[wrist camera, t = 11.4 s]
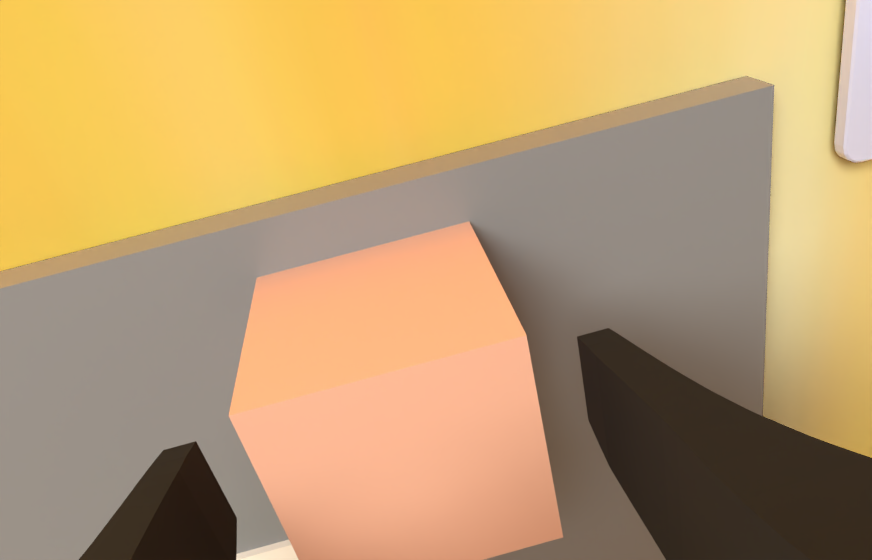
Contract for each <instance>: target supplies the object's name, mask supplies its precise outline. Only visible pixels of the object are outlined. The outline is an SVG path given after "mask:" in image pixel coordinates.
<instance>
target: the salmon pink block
mask: <svg viewBox="0 0 872 560" xmlns="http://www.w3.org/2000/svg"><path fill="white" fill-rule="evenodd" d="M229 418H230V420H231V422H232V424H233V426H234V428H235V430H236V432H237V434H238V436H239V438H240V440H241V442H242V444H243V446H244V448H245V450H246V453H247V455H248V457H249V459H250V461H251V463H252V465H253V467H254V469H255V471H256V473H257V475H258V477H259V479H260V481H261V483H262V485H263V487H264V489H265V491H266V494H267V496H268V498H269V500H270V502H271V504H272V506H273V508H274V510H275V512H276V514H277V516H278V518H279V520H280V522H281V524H282V526H283V528H284V530H285V532H286V534H287V537H288V539H289V541H290V543H291V545H292V547H293V549H294V551H295V553H296V555H297V557H298V559H299V560H484V559H488V558H491V557H495V556H498V555H502V554H505V553H509V552H513V551H516V550H520V549H523V548H527V547H530V546H534V545H538V544H541V543H545V542H548V541H552V540H555V539H559V538H563V533H562V527H561V522H560V516H559V511H558V505H557V500H556V494H555V489H554V484H553V478H552V473H551V467H550V462H549V456H548V451H547V445H546V440H545V434H544V429H543V423H542V418H541V412H540V407H539V401H538V396H537V390H536V385H535V379H534V374H533V368H532V363H531V357H530V352H529V346H528V341H527V335H526V333H525V331H524V329H523V327H522V325H521V323H520V321H519V319H518V317H517V315H516V313H515V311H514V309H513V307H512V305H511V303H510V301H509V299H508V297H507V295H506V293H505V291H504V289H503V287H502V285H501V283H500V281H499V280H498V278H497V276H496V274H495V272H494V270H493V268H492V266H491V264H490V262H489V260H488V258H487V256H486V254H485V252H484V250H483V248H482V246H481V244H480V242H479V240H478V238H477V236H476V234H475V232H474V230H473V228H472V226H471V224H470V222H465V223H461V224H457V225H453V226H450V227H446V228H442V229H438V230H435V231H431V232H427V233H423V234H419V235H416V236H412V237H408V238H404V239H401V240H397V241H393V242H389V243H386V244H382V245H378V246H374V247H370V248H367V249H363V250H359V251H355V252H352V253H348V254H344V255H340V256H337V257H333V258H329V259H325V260H321V261H318V262H314V263H310V264H306V265H303V266H299V267H295V268H291V269H287V270H284V271H280V272H276V273H272V274H269V275H265V276H261V277H257V279H256V283H255V288H254V293H253V298H252V303H251V308H250V313H249V318H248V323H247V328H246V333H245V338H244V342H243V347H242V352H241V357H240V362H239V367H238V372H237V377H236V382H235V387H234V392H233V397H232V402H231V406H230V411H229Z"/></svg>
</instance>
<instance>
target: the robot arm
mask: <svg viewBox="0 0 872 560" xmlns="http://www.w3.org/2000/svg"><path fill="white" fill-rule="evenodd" d="M834 145H835V151H836V153H837V154H838V155H839V156H840V157H842V158H845V159H847V160H849V161H852V162H854V163H856V162H864V161H868V160H872V0H846V8H845V20H844V32H843V44H842V56H841V68H840V80H839V92H838V104H837V116H836V128H835V140H834ZM577 341H578V348H579V356H580V363H581V370H582V378H583V385H584V392H585V400H586V407H587V414H588V420H589V423H590V425H591V427H592V430H593V432H594V434H595V436H596V439H597V441H598V443H599V445H600V447H601V450H602V452H603V454H604V456H605V458H606V460H607V463H608V465H609V467H610V468H611V470H612V472H613V474H614V475H615V477H616V479H617V480H618V482H619V484H620V485H621V487H622V489H623V490H624V492H625V493H626V495H627V497H628V498H629V500H630V502H631V503H632V505H633V507H634V508H635V510H636V512H637V513H638V515H639V516H640V518H641V520H642V521H643V523H644V525H645V526H646V528H647V530H648V531H649V533H650V534H651V536H652V538H653V539H654V541H655V543H656V544H657V546H658V547H659V549H660V551H661V552H662V554H663V556H664V557H665V559H666V560H872V458H870V457H867V456H864V455H861V454H858V453H855V452H852V451H850V450H847V449H844V448H841V447H838V446H835V445H832V444H829V443H827V442H824V441H821V440H819V439H816V438H813V437H811V436H808V435H806V434H803V433H801V432H798V431H796V430H794V429H791V428H789V427H786V426H784V425H782V424H779V423H777V422H775V421H772V420H770V419H767V418H765V417H763V416H761V415H759V414H757V413H754V412H752V411H750V410H748V409H746V408H744V407H742V406H740V405H738V404H736V403H734V402H732V401H730V400H728V399H726V398H724V397H722V396H720V395H718V394H716V393H715V392H713V391H711V390H709V389H707V388H705V387H704V386H702V385H700V384H698V383H697V382H695V381H693V380H692V379H690V378H688V377H686V376H685V375H683V374H681V373H680V372H678V371H676V370H674V369H673V368H671V367H670V366H668V365H666V364H665V363H663V362H661V361H660V360H658V359H657V358H655V357H653V356H652V355H650V354H649V353H647V352H646V351H644V350H642V349H641V348H639V347H638V346H636V345H635V344H633V343H632V342H630V341H629V340H627V339H625V338H624V337H622V336H621V335H619V334H618V333H616V332H614V331H613V330H611V329H609V328H607V329H603V330H599V331H596V332H592V333H588V334H585V335H581V336H577ZM236 554H237V517H236V515H235V513H234V512H233V510H232V508H231V506H230V504H229V502H228V500H227V498H226V497H225V495H224V493H223V491H222V489H221V487H220V485H219V483H218V482H217V480H216V478H215V476H214V474H213V472H212V470H211V468H210V466H209V465H208V463H207V461H206V459H205V457H204V455H203V453H202V451H201V450H200V448H199V446H198V444H197V442H196V441H195V442H191V443H187V444H184V445H180V446H176V447H173V448H169V449H166V450H163V451H162V452H161V454H160V455H159V456H158V457H157V458H156V460H155V461H154V462H153V463H152V465H151V466H150V467H149V469H148V470H147V471H146V472H145V474H144V475H143V476H142V478H141V479H140V480H139V482H138V483H137V484H136V486H135V487H134V488H133V490H132V491H131V492H130V494H129V495H128V496H127V498H126V499H125V500H124V502H123V503H122V504H121V506H120V507H119V508H118V510H117V511H116V512H115V514H114V515H113V516H112V518H111V519H110V520H109V521H108V523H107V524H106V525H105V527H104V528H103V529H102V531H101V532H100V533H99V535H98V536H97V537H96V539H95V540H94V541H93V542H92V544H91V545H90V546H89V548H88V549H87V550H86V551H85V552H84V554H83V555H82V556H81V557H80V558H79V560H236Z"/></svg>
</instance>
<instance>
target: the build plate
mask: <svg viewBox="0 0 872 560" xmlns="http://www.w3.org/2000/svg"><path fill="white" fill-rule="evenodd" d="M773 101H774V85H772V84H769V83H766V82H763V81H760V80H757V79H754V78H751V77H748V76H745V77H741V78H737V79H733V80H730V81H726V82H722V83H718V84H714V85H710V86H707V87H703V88H699V89H695V90H691V91H688V92H684V93H680V94H676V95H672V96H668V97H665V98H661V99H657V100H653V101H649V102H646V103H642V104H638V105H634V106H630V107H626V108H623V109H619V110H615V111H611V112H607V113H604V114H600V115H596V116H592V117H588V118H584V119H581V120H577V121H573V122H569V123H565V124H562V125H558V126H554V127H550V128H546V129H543V130H539V131H535V132H531V133H527V134H523V135H520V136H516V137H512V138H508V139H504V140H501V141H497V142H493V143H489V144H485V145H481V146H478V147H474V148H470V149H466V150H462V151H459V152H455V153H451V154H447V155H443V156H439V157H436V158H432V159H428V160H424V161H420V162H417V163H413V164H409V165H405V166H401V167H397V168H394V169H390V170H386V171H382V172H378V173H375V174H371V175H367V176H363V177H359V178H356V179H352V180H348V181H344V182H340V183H336V184H333V185H329V186H325V187H321V188H317V189H314V190H310V191H306V192H302V193H298V194H294V195H291V196H287V197H283V198H279V199H275V200H272V201H268V202H264V203H260V204H256V205H252V206H249V207H245V208H241V209H237V210H233V211H230V212H226V213H222V214H218V215H214V216H210V217H207V218H203V219H199V220H195V221H191V222H188V223H184V224H180V225H176V226H172V227H169V228H165V229H161V230H157V231H153V232H149V233H146V234H142V235H138V236H134V237H130V238H127V239H123V240H119V241H115V242H111V243H107V244H104V245H100V246H96V247H92V248H88V249H85V250H81V251H77V252H73V253H69V254H65V255H62V256H58V257H54V258H50V259H46V260H43V261H39V262H35V263H31V264H27V265H24V266H20V267H16V268H12V269H8V270H4V271H1V272H0V560H79V558H80V557H81V556H82V555H83V554H84V552H85V551H86V550H87V549H88V548H89V546H90V545H91V544H92V542H93V541H94V540H95V539H96V537H97V536H98V535H99V533H100V532H101V531H102V529H103V528H104V527H105V525H106V524H107V523H108V521H109V520H110V519H111V518H112V516H113V515H114V514H115V512H116V511H117V510H118V508H119V507H120V506H121V504H122V503H123V502H124V500H125V499H126V498H127V496H128V495H129V494H130V492H131V491H132V490H133V488H134V487H135V486H136V484H137V483H138V482H139V480H140V479H141V478H142V476H143V475H144V474H145V472H146V471H147V470H148V469H149V467H150V466H151V465H152V463H153V462H154V461H155V460H156V458H157V457H158V456H159V455H160V454H161V452H162V451H163V450H166V449H169V448H173V447H176V446H180V445H184V444H187V443H191V442H195V441H196V442H197V444H198V446H199V448H200V450H201V451H202V453H203V455H204V457H205V459H206V461H207V463H208V465H209V466H210V468H211V470H212V472H213V474H214V476H215V478H216V480H217V482H218V483H219V485H220V487H221V489H222V491H223V493H224V495H225V497H226V498H227V500H228V502H229V504H230V506H231V508H232V510H233V512H234V513H235V515H236V517H237V554H236V560H299V559H298V557H297V555H296V553H295V551H294V549H293V547H292V545H291V543H290V541H289V539H288V537H287V534H286V532H285V530H284V528H283V526H282V524H281V522H280V520H279V518H278V516H277V514H276V512H275V510H274V508H273V506H272V504H271V502H270V500H269V498H268V496H267V494H266V491H265V489H264V487H263V485H262V483H261V481H260V479H259V477H258V475H257V473H256V471H255V469H254V467H253V465H252V463H251V461H250V459H249V457H248V455H247V453H246V450H245V448H244V446H243V444H242V442H241V440H240V438H239V436H238V434H237V432H236V430H235V428H234V426H233V424H232V422H231V420H230V418H229V411H230V406H231V402H232V397H233V392H234V387H235V382H236V377H237V372H238V367H239V362H240V357H241V352H242V347H243V342H244V338H245V333H246V328H247V323H248V318H249V313H250V308H251V303H252V298H253V293H254V288H255V283H256V279H257V277H261V276H265V275H269V274H272V273H276V272H280V271H284V270H287V269H291V268H295V267H299V266H303V265H306V264H310V263H314V262H318V261H321V260H325V259H329V258H333V257H337V256H340V255H344V254H348V253H352V252H355V251H359V250H363V249H367V248H370V247H374V246H378V245H382V244H386V243H389V242H393V241H397V240H401V239H404V238H408V237H412V236H416V235H419V234H423V233H427V232H431V231H435V230H438V229H442V228H446V227H450V226H453V225H457V224H461V223H465V222H470V224H471V226H472V228H473V230H474V232H475V234H476V236H477V238H478V240H479V242H480V244H481V246H482V248H483V250H484V252H485V254H486V256H487V258H488V260H489V262H490V264H491V266H492V268H493V270H494V272H495V274H496V276H497V278H498V280H499V281H500V283H501V285H502V287H503V289H504V291H505V293H506V295H507V297H508V299H509V301H510V303H511V305H512V307H513V309H514V311H515V313H516V315H517V317H518V319H519V321H520V323H521V325H522V327H523V329H524V331H525V333H526V335H527V341H528V346H529V352H530V357H531V363H532V368H533V374H534V379H535V385H536V390H537V396H538V401H539V407H540V412H541V418H542V423H543V429H544V434H545V440H546V445H547V451H548V456H549V462H550V467H551V473H552V478H553V484H554V489H555V494H556V500H557V505H558V511H559V516H560V522H561V527H562V533H563V538H559V539H555V540H552V541H548V542H545V543H541V544H538V545H534V546H530V547H527V548H523V549H520V550H516V551H513V552H509V553H505V554H502V555H498V556H495V557H491V558H488V559H484V560H666V559H665V557H664V556H663V554H662V552H661V551H660V549H659V547H658V546H657V544H656V543H655V541H654V539H653V538H652V536H651V534H650V533H649V531H648V530H647V528H646V526H645V525H644V523H643V521H642V520H641V518H640V516H639V515H638V513H637V512H636V510H635V508H634V507H633V505H632V503H631V502H630V500H629V498H628V497H627V495H626V493H625V492H624V490H623V489H622V487H621V485H620V484H619V482H618V480H617V479H616V477H615V475H614V474H613V472H612V470H611V468H610V467H609V465H608V463H607V460H606V458H605V456H604V454H603V452H602V450H601V447H600V445H599V443H598V441H597V439H596V436H595V434H594V432H593V430H592V427H591V425H590V423H589V420H588V414H587V407H586V400H585V392H584V385H583V378H582V370H581V363H580V356H579V348H578V341H577V336H581V335H585V334H588V333H592V332H596V331H599V330H603V329H607V328H609V329H611V330H613V331H614V332H616V333H618V334H619V335H621V336H622V337H624V338H625V339H627V340H629V341H630V342H632V343H633V344H635V345H636V346H638V347H639V348H641V349H642V350H644V351H646V352H647V353H649V354H650V355H652V356H653V357H655V358H657V359H658V360H660V361H661V362H663V363H665V364H666V365H668V366H670V367H671V368H673V369H674V370H676V371H678V372H680V373H681V374H683V375H685V376H686V377H688V378H690V379H692V380H693V381H695V382H697V383H698V384H700V385H702V386H704V387H705V388H707V389H709V390H711V391H713V392H715V393H716V394H718V395H720V396H722V397H724V398H726V399H728V400H730V401H732V402H734V403H736V404H738V405H740V406H742V407H744V408H746V409H748V410H750V411H752V412H754V413H757V414H759V415H761V416H763V387H764V359H765V330H766V301H767V273H768V244H769V215H770V187H771V158H772V129H773Z"/></svg>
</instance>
